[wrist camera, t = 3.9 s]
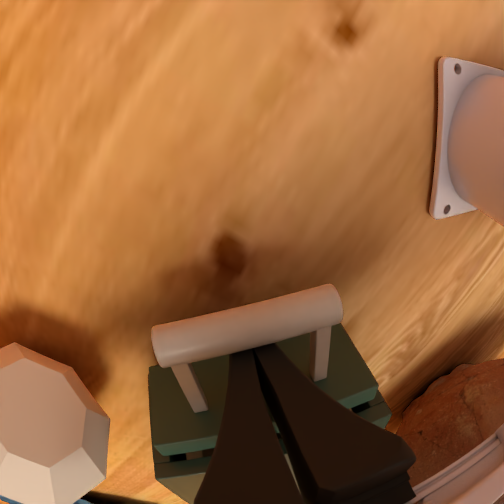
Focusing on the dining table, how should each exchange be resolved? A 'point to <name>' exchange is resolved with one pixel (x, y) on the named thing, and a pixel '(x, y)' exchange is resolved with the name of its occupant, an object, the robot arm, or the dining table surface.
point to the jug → (453, 417)
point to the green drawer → (239, 339)
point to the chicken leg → (48, 430)
